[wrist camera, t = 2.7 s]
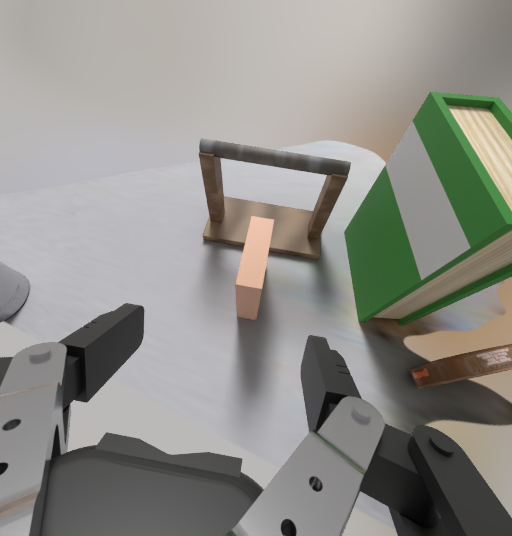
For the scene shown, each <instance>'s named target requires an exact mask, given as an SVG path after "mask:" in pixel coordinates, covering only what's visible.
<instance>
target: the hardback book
mask: <svg viewBox="0 0 512 536" xmlns="http://www.w3.org/2000/svg"><path fill="white" fill-rule="evenodd" d="M344 233H345V239H346V245H347V252H348V258H349V264H350V270H351V277H352V283H353V289H354V296H355V302H356V308H357V315H358V321H359V322H366V321H367V320H369V319H370V318H372V317H377V318H392V319H398V322H399V325H406V324H408V323H410V322H412V321H415V320H417V319H419V318H421V317H424V316H426V315H428V314H430V313H432V312H435V311H437V310H439V309H441V308H443V307H446V306H448V305H450V304H452V303H454V302H457V301H459V300H461V299H463V298H465V297H468V296H470V295H472V294H474V293H476V292H479V291H481V290H483V289H485V288H487V287H490V286H492V285H494V284H496V283H498V282H501V281H503V280H505V279H507V278H509V277H512V113H511V111H510V110H509V109H508V108H507V107H506V105H505V104H504V103H503V102H502V101H501V99H500V98H495V97H482V96H472V95H460V94H449V93H437V92H430V93H429V95H428V97H427V98H426V100H425V102H424V103H423V105H422V107H421V108H420V110H419V112H418V113H417V115H416V116H415V118H414V119H413V121H412V123H411V124H410V126H409V128H408V129H407V131H406V132H405V134H404V136H403V137H402V139H401V141H400V142H399V144H398V146H397V147H396V149H395V151H394V152H393V154H392V155H391V157H390V159H389V160H388V162H387V163H386V165H385V167H384V168H383V170H382V172H381V173H380V175H379V176H378V178H377V180H376V181H375V183H374V185H373V186H372V188H371V189H370V191H369V193H368V194H367V196H366V198H365V199H364V201H363V202H362V204H361V206H360V207H359V209H358V211H357V212H356V214H355V215H354V217H353V219H352V220H351V222H350V224H349V225H348V227H347V228H346V230H345V232H344Z"/></svg>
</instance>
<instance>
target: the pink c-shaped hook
mask: <svg viewBox="0 0 512 536" xmlns="http://www.w3.org/2000/svg"><path fill="white" fill-rule="evenodd" d="M273 224H274V220H273V219H267V218H261V217H255V216H251V221H250V225H249V229H248V233H247V237H246V242H245V246H244V250H243V254H242V258H241V263H240V267H239V271H238V275H237V279H236V284H235V287H236V305H237V317H240V318H246V319H251V320H256V319H257V314H258V308H259V303H260V298H261V292H262V287H263V281H264V275H265V270H266V264H267V258H268V253H269V247H270V241H271V236H272V230H273Z"/></svg>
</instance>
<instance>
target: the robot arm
mask: <svg viewBox="0 0 512 536" xmlns="http://www.w3.org/2000/svg"><path fill="white" fill-rule="evenodd" d="M28 293H29V283H28V280H27V279H26V277H25V276H24V275H22V274H21V273H19V272H17V271H16V270H14V269H12V268H10V267H8V266H7V265H5V264H3V263H2V262H0V322H2V321H4V320H6V319H7V318H9V317H10V316H12V315H13V314H14V313H15V312H16V311H17V310H19V308H20V307H21V306H22V305H23V303H24V302H25V300H26V298H27V296H28ZM143 334H144V308H143V306H139V305H134V304H128V303H126V304H124V305H122V306H121V307H119V308H118V309H116V310H115V311H111V312H109V313H106V314H103V315H100V316H99V317H97V318H95V319H94V320H92V321H91V323H88V324H86V325H84V326H83V328H82V327H81V328H80V329H78V330H77V331H75V332H74V333H72V334H70V335H69V336H67V337H66V338H64V339H63V340H61V341H60V342H58V343H56V342H48V343H41V344H37V345H33V346H30V347H28V348H25V349H23V350H22V351H20V352H19V353H17V354H16V355H15V356H14V357H6V358H5V357H4V358H3V357H2V358H0V536H342V534H343V532H344V529H345V527H346V524H347V522H348V520H349V517H350V515H351V512H352V509H353V507H354V505H355V502H356V500H357V498H358V495H359V493H360V491H361V492H363V493H365V494H367V495H368V496H370V497H372V498H374V499H376V500H377V501H379V502H381V503H383V504H385V505H387V506H388V507H389V510H390V513H391V516H392V519H393V522H394V525H395V528H396V531H397V534H398V536H512V518H511V517H510V515H509V514H508V512H507V511H506V509H505V508H504V507H503V505H502V504H501V502H500V501H499V500H498V498H497V497H496V495H495V494H494V493H493V491H492V490H491V489H490V487H489V486H488V484H487V483H486V482H485V480H484V479H483V477H482V476H481V474H480V473H479V472H478V471H477V469H476V467H475V466H474V465H473V463H472V462H471V461H470V459H469V458H468V456H467V455H466V453H465V452H464V451H463V450H462V448H461V447H460V446H459V445H458V444H457V443H456V442H455V441H453V440H452V439H451V438H450V437H448V436H447V435H445V434H444V433H442V432H440V431H439V430H437V429H434V428H432V427H429V426H424V425H420V426H417V427H415V428H414V430H413V432H412V435H410V434H408V433H405V432H403V431H401V430H398V429H396V428H394V427H392V426H389V425H387V424H385V422H384V419H383V417H382V415H381V414H380V412H379V411H378V410H377V409H376V408H375V407H374V406H373V405H371V404H370V403H368V402H367V401H365V400H363V399H362V398H361V396H360V394H359V392H358V389H357V387H356V385H355V383H354V381H353V378H352V376H351V375H350V372H349V369H348V368H347V365H346V363H345V361H344V358H343V357H342V356H341V355H340V354H339V353H338V352H337V351H336V350H330V348H329V345H328V343H327V340H326V338H323V337H318V336H312V335H309V336H308V339H307V343H306V347H305V351H304V356H303V360H302V364H301V381H302V388H303V394H304V401H305V407H306V414H307V420H308V427H309V433H308V435H307V436H306V437H305V439H304V440H303V441H302V442H301V444H300V445H299V446H298V447H297V449H296V450H295V451H294V452H293V454H292V455H291V456H290V458H289V459H288V460H287V461H286V463H285V464H284V465H283V466H282V468H281V469H280V470H279V472H278V473H277V474H276V475H275V477H274V478H273V479H272V480H271V482H270V483H269V484H268V486H267V487H266V488H265V489H264V490H263V489H262V487H261V486H259V485H258V484H257V483H256V482H255V481H254V480H253V479H251V478H250V477H248V476H247V475H245V474H243V473H242V472H241V464H242V459H241V458H236V457H230V456H225V455H220V454H215V453H210V452H206V453H191V454H179V455H170V454H166V453H165V452H163V451H161V450H159V449H157V448H155V447H154V446H152V445H150V444H148V443H146V442H144V441H142V440H140V439H137V438H132V437H127V436H122V435H117V434H112V433H106V434H105V435H104V436H103V438H102V439H101V440H100V442H99V443H98V445H94V446H88V447H83V448H79V449H76V450H72V451H70V452H67V449H68V438H69V427H70V416H71V405H70V403H71V402H72V401H73V400H76V401H81V402H88V401H89V400H90V399H91V398H92V397H93V396H94V395H95V394H96V393H97V391H98V390H99V389H100V388H101V387H102V386H103V385H104V384H105V383H106V382H107V381H108V380H109V379H110V378H111V377H112V376H113V374H114V373H115V372H116V371H117V370H118V369H119V368H120V367H121V366H122V365H123V364H124V363H125V362H126V361H127V360H128V359H129V357H130V356H131V355H132V354H133V353H134V352H135V351H136V350H137V349H138V348H139V346H140V345H141V343H142V340H143Z"/></svg>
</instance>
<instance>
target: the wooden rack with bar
mask: <svg viewBox="0 0 512 536" xmlns="http://www.w3.org/2000/svg"><path fill="white" fill-rule="evenodd" d="M199 157H200V164H201V170H202V175H203V181H204V187H205V192H206V198H207V204H208V210H209V215H210V216H209V219H208V221H207V224H206V227H205V230H204V233H203V239H204V240H210V241H215V242H221V243H227V244H233V245H238V246H245V242H246V237H247V233H248V229H249V225H250V221H251V216H255V217H261V218H267V219H273V220H274V224H273V230H272V236H271V241H270V247H269V251H273V252H278V253H284V254H290V255H296V256H301V257H307V258H313V259H319V257H320V248H321V232H322V230H323V228H324V226H325V224H326V222H327V220H328V218H329V216H330V214H331V212H332V209H333V207H334V205H335V203H336V201H337V199H338V197H339V195H340V193H341V191H342V189H343V186H344V184H345V182H346V180H347V178H348V173H349V170H350V165H351V163H350V162H347V161H341V160H334V159H328V158H322V157H316V156H309V155H303V154H297V153H290V152H284V151H278V150H271V149H265V148H259V147H252V146H246V145H240V144H234V143H227V142H221V141H214V140H208V139H201V140H200V152H199ZM220 158H225V159H231V160H237V161H244V162H250V163H256V164H262V165H268V166H275V167H281V168H287V169H293V170H299V171H306V172H312V173H318V174H324V175H327V177H326V180H325V182H324V185H323V188H322V190H321V193H320V195H319V198H318V201H317V203H316V206H315V209H314V211H308V210H302V209H296V208H290V207H284V206H278V205H272V204H266V203H260V202H254V201H248V200H242V199H236V198H230V197H224V195H223V184H222V172H221V161H220Z"/></svg>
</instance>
